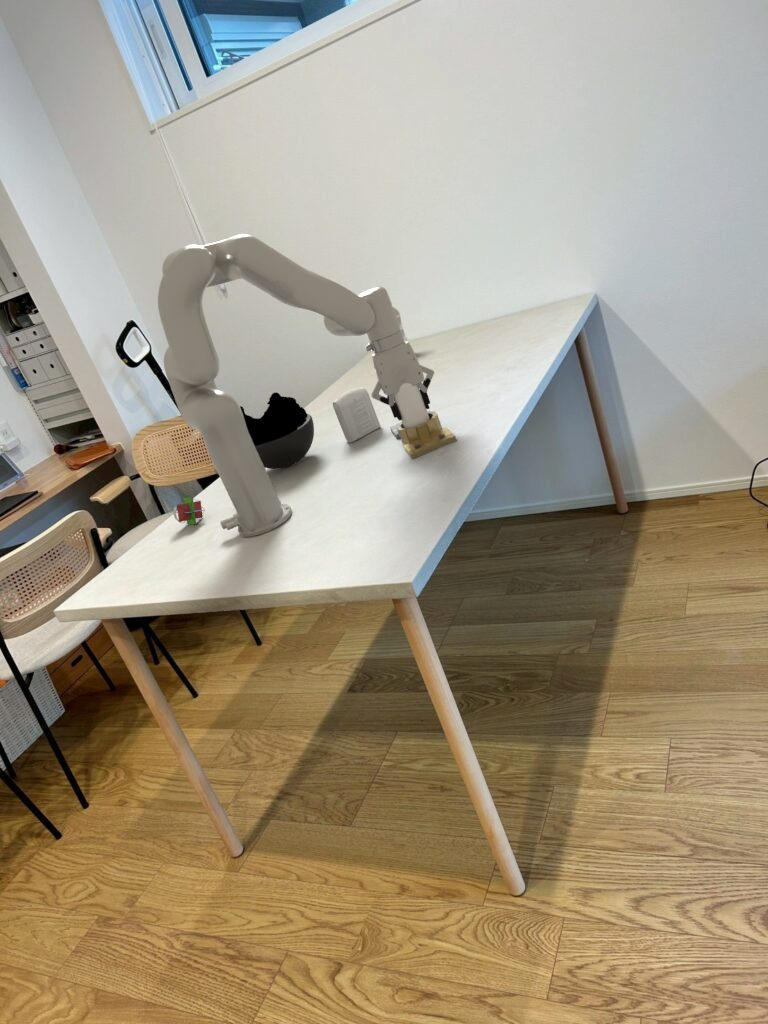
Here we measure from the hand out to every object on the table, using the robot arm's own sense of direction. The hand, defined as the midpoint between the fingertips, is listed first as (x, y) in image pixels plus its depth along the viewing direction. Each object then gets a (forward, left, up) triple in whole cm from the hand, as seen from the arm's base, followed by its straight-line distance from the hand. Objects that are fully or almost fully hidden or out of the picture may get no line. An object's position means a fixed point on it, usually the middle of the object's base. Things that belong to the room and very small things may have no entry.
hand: (413, 412), depth 187 cm
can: (0, 0, -3) cm, 3 cm away
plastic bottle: (+14, +89, -6) cm, 90 cm away
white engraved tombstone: (-12, +20, -6) cm, 24 cm away
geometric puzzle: (-59, +5, -6) cm, 59 cm away
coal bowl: (-33, +20, -6) cm, 39 cm away
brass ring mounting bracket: (0, 0, -6) cm, 6 cm away
